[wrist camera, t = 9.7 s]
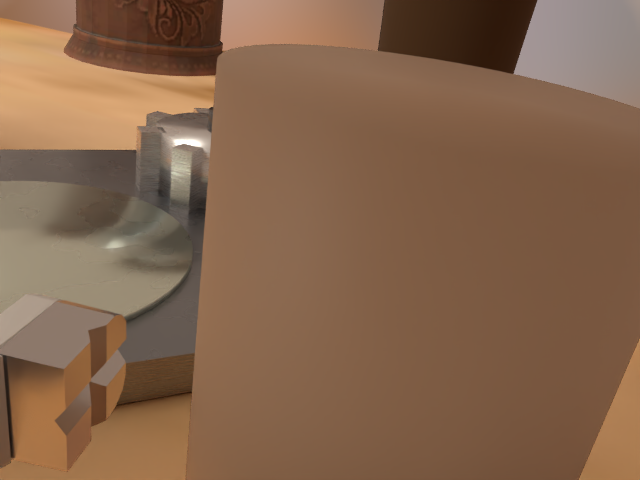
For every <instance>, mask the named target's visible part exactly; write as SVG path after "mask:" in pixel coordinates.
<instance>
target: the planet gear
mask: <svg viewBox="0 0 640 480" xmlns="http://www.w3.org/2000/svg"><path fill="white" fill-rule="evenodd" d="M639 338H640V109H639V108H636V107H633V106H630V105H627V104H624V103H621V102H618V101H614V100H611V99H608V98H604V97H601V96H597V95H594V94H591V93H587V92H584V91H580V90H576V89H572V88H569V87H565V86H561V85H557V84H553V83H549V82H545V81H541V80H537V79H532V78H528V77H524V76H519V75H514V74H510V73H505V72H501V71H496V70H491V69H486V68H481V67H476V66H471V65H465V64H460V63H454V62H449V61H443V60H437V59H431V58H424V57H418V56H411V55H404V54H397V53H390V52H382V51H373V50H364V49H355V48H345V47H333V46H318V45H297V44H268V45H253V46H244V47H239V48H235V49H230V50H228V51H225V52H223V53H222V54H220V55H219V56H218V58H217V67H216V80H215V93H214V106H213V120H212V133H211V146H210V160H209V173H208V186H207V200H206V213H205V226H204V240H203V253H202V266H201V279H200V293H199V306H198V319H197V333H196V346H195V359H194V373H193V386H192V399H191V413H190V426H189V439H188V453H187V466H186V479H185V480H579V477H580V475H581V473H582V470H583V468H584V466H585V463H586V461H587V459H588V456H589V454H590V452H591V449H592V447H593V445H594V443H595V440H596V438H597V436H598V433H599V431H600V429H601V426H602V424H603V422H604V419H605V417H606V415H607V412H608V410H609V408H610V406H611V403H612V401H613V399H614V396H615V394H616V392H617V389H618V387H619V385H620V382H621V380H622V378H623V375H624V373H625V371H626V369H627V366H628V364H629V362H630V359H631V357H632V355H633V352H634V350H635V348H636V345H637V343H638V341H639Z"/></svg>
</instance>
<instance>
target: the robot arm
mask: <svg viewBox="0 0 640 480" xmlns="http://www.w3.org/2000/svg"><path fill="white" fill-rule="evenodd" d="M125 340H126V320H125V318H124V317H123V316H122V314H118V313H114V312H110V311H106V310H102V309H98V308H94V307H90V306H86V305H82V304H78V303H74V302H70V301H66V300H61V299H58V298H54V297H49V296H45V295H40V294H36V293H33V294H26V295H24V296H23V297H22V298H20V299H19V300H18V301H16V302H15V303H14V304H12V305H11V306H10V307H9V308H7V309H6V310H5V311H3V312H2V313H1V314H0V468H2V467H4V466H6V465H8V464H9V463H11V459H12V460H17V461H21V462H26V463H30V464H34V465H39V466H43V467H48V468H52V469H57V470H61V471H65V472H67V471H68V470H69V469H70V468H71V466H72V465H73V464H74V462H75V461H76V460H77V458H78V457H79V456H80V454H81V453H82V452H83V450H84V449H85V448H86V446H87V445H88V444H89V442H90V441H91V427H92V426H94V425H96V424H98V423H101V422H103V421H105V420H107V418H108V417H109V415H110V414H111V412H112V411H113V410H114V408H115V407H116V404H117V402H118V400H119V397H120V395H121V392H122V390H123V385H124V380H125V375H126V362H125V360H124V358H123V357H122V355H121V354H120V352H119V351H118V348H119V347H120V346H121V344H122V343H123V342H124V341H125Z"/></svg>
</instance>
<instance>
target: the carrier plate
mask: <svg viewBox="0 0 640 480" xmlns="http://www.w3.org/2000/svg"><path fill="white" fill-rule="evenodd" d="M212 120H213V107H211V108H209V109H204V108H194V113H183V114H175V115H171V114H167V113H163V112H159V111H157V112H153V113H150V114H147V123H146V127H144V126H137V148H136V150H0V314H1V313H2V312H3V311H5V310H6V309H7V308H9V307H10V306H11V305H12V304H14V303H15V302H16V301H18V300H19V299H20V298H22V297H23V296H24V295H26V294H33V293H36V294H40V295H45V296H49V297H54V298H58V299H61V300H66V301H70V302H74V303H78V304H82V305H86V306H90V307H94V308H98V309H102V310H106V311H110V312H114V313H118V314H122V316H123V317H124V318H125V320H126V340H125V341H124V342H123V343H122V344H121V346H120V347H119V348H118V351H119V352H120V354H121V355H122V357H123V358H124V360H125V362H126V375H125V380H124V385H123V390H122V392H121V395H120V397H119V400H118V402H117V404H116V405H119V404H125V403H130V402H136V401H142V400H147V399H153V398H158V397H164V396H170V395H175V394H181V393H187V392H192V386H193V373H194V359H195V346H196V333H197V319H198V306H199V293H200V279H201V266H202V253H203V240H204V226H205V213H206V200H207V186H208V173H209V160H210V146H211V133H212Z"/></svg>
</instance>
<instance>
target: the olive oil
mask: <svg viewBox="0 0 640 480" xmlns="http://www.w3.org/2000/svg"><path fill="white" fill-rule="evenodd" d="M536 3H537V0H385V2H384V10H383V18H382V25H381V32H380V40H379V47H378V51H382V52H390V53H397V54H404V55H411V56H418V57H424V58H431V59H437V60H443V61H449V62H454V63H460V64H465V65H471V66H476V67H481V68H486V69H491V70H496V71H501V72H505V73H510V74H513V73H514V70H515V67H516V64H517V61H518V58H519V55H520V51H521V48H522V45H523V42H524V39H525V36H526V33H527V30H528V27H529V24H530V21H531V18H532V15H533V12H534V8H535V6H536Z"/></svg>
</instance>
